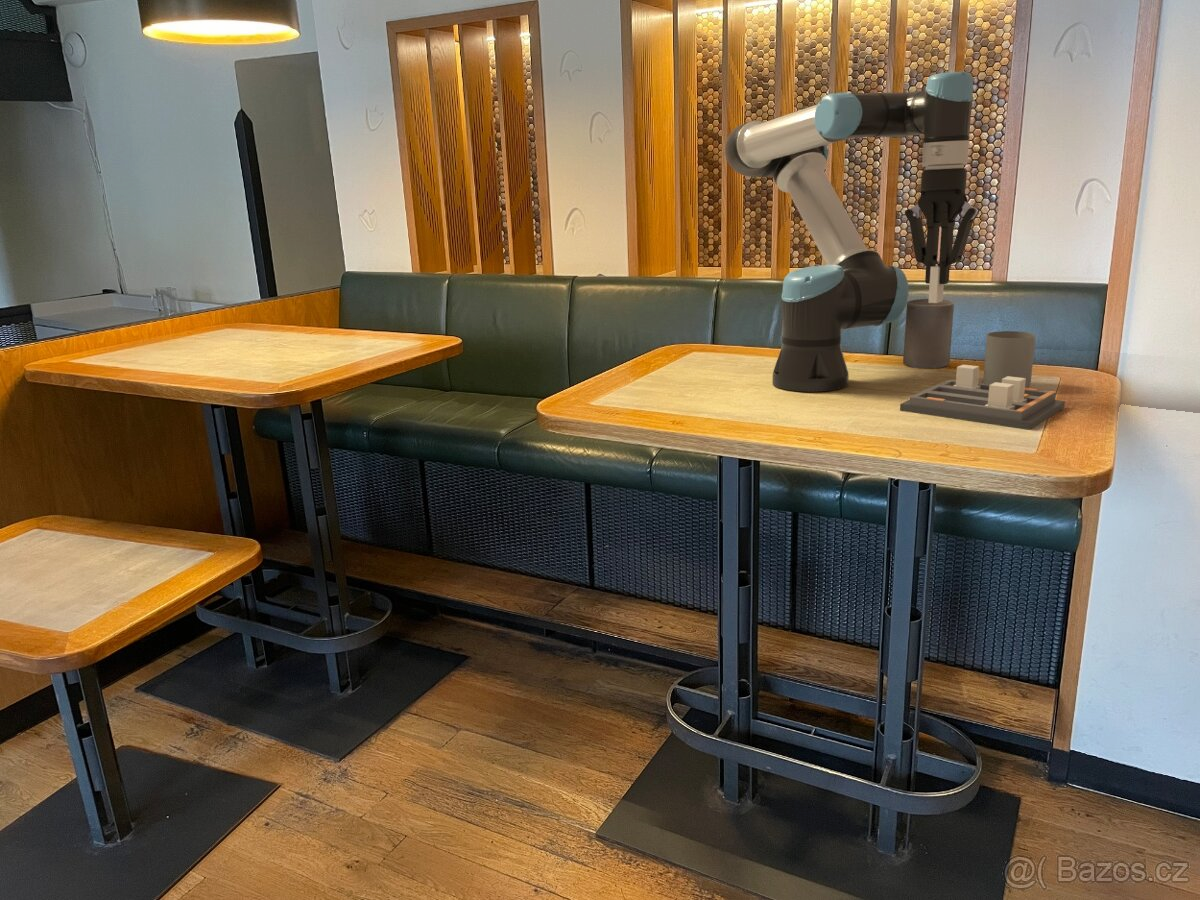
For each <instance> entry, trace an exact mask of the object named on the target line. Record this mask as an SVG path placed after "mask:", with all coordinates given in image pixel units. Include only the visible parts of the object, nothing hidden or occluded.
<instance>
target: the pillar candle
mask: <svg viewBox="0 0 1200 900" xmlns="http://www.w3.org/2000/svg"><path fill="white" fill-rule="evenodd" d="M928 302H929V298H920V299H919V298H918V299H911V300H907V304H906V313H905V315H906V316H905V324H904V325H905V330H904V342H903V357H902V359H903V360H902V364H903V365H904V366H906V367H908V368H915V369H929V370H930V369H942V368H944V367H947V366H949V365H950V361H951V349H952V348H951V347H952V337H953V336H952V335H953V334H952V333H953V323H954V322H953V321H954V320H953V319H954V308H955V304H956V302H955V301H953V300H949V299H943V301H942V302H939V303H928Z"/></svg>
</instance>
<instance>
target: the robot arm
mask: <svg viewBox="0 0 1200 900" xmlns="http://www.w3.org/2000/svg"><path fill="white" fill-rule="evenodd" d="M973 83H974V79H973V74H971V73H969V72H966V71H952V72H951V71H949V72H942V73H941V72H940V73H935V74H932V75H930V76H928V77H927V80H926V86H925V89H923V90H917V91H908V92H847V91H842V92H837V93H829V94H826V95H824V96H823V97H822V98H821V100H820V101H819V102H818V103H817V104H814V105H812V106H807V107H806V108H802V109H800V110H798V111H797V110H796V111H794V112H791V113H788V114H785V115H782V116H779V117H777V118H773V119H770V120H767V121H760V120H753V121H748V122H746V123H743V124H740V125H738V126H737V127H735V128H734V129H733V130H732V131H731V132H730V133H729V135H728V137H726V138H727V139H726V141H725V148H724V152H725V153H724V154H725V155H724V156H725V158H726V161H727V163H728V165H729V166H730V168H732V169H731V170H734V171H735V172H736V173H737V174H739V175H742V176H744V177H747V178H749V177H750V178H767V177H771V178H772V179H773V181H774V182H775V184H776V187H777V188H778V190H780V191H781V192H783V193H787V194H789V196H790V197H791V200H792V201H793V203H794V205H795V207H796V210H797V211H798V213H799V215H800V217H801V219H802V221H803V223H804V224H805V226H806V228H807V230H808V232H809V234H810V237H812V240H813V242H814V243H815V245H816V247H817V249H818V251H819V254H820V255H821V257H822V258H823V260H824V262H825V264H821V265H812V266H806V267H801V268H798V269H795V270H792V271H791V272H788V273H787V275H786V276H785V277H784V278H783V281H782V283H783V284H782V292H781V301H782V303H781V305H782V306H781V308H782V311H781V313H782V314H781V348H780V351H779V354H778V356H777V359H776V363H775V365H774V368H773V370H772V371H773V372H772V385H773V386H774V387H776V388H779V389H782V390H786V391H794V392H807V393H808V392H809V393H811V392H813V393H814V392H815V393H816V392H828V391H829V392H830V391H835V390H841V389H844V388H845V387H848V385H849V375H850V374H849V370H848V367H847V363H846V360H845V356H844V353H843V349H842V330H847V329H848V330H849V329H855V328H863V327H871V326H872V327H878V326H879V327H880V326H882V325H886V324H889V323H892V322H894V321H896V320H897V319H899V317H901V315H902V314H903V312H904V311H905V308H906V307H907V302H908V296H909V281H908V279H907V276H906V274H905V272H904V271H903V270H902V269H901V268H900V267H897V266H894V265H891V264H890V265H888V266H887V265H886V264H885V263H884V260H883V259H882V257H881V255H880V253H879V252H878V251H877V250H874V249H868V248H867V246H866V245H865V242H864V241H863V239H862V237H861V236H860V233H859V232H858V230H857V228H856V227H855V224H854V223H853V220H852V219H851V217H850V216H849V214H848V212H847V211H846V208H845V206H844V205H843V202H842V201H841V200H840V197H839V196H838V194H837V192H836V190H835V188H834V187H833V185H832V183H831V181H830V180H829V178H828V176H827V174H826V172H825V171H826V168H827V161H828V157H829V148H827V146H828V145H830V144H833V143H838V142H843V141H845V140H850V139H857V138H858V139H859V138H860V139H861V138H890V139H897V138H898V139H902V138H905V137H911V136H912V137H913V136H918V135H923V139H922V140H923V141H922V143H923V146H922V163H921V166H922V167H925V168H924V169H925V170H922V172H921V177H920V178H921V179H920V196H919V198H918V201H917V204H915V205H914V206H913V207H911V208H909V209H906V210H905V211H904V215H905V217H906V218H907V220H908V222H909V228H910V233H911V239H912V244H913V250H914V251H913V252H914V256H915V261H916V262H917V263H921V264H923V265H924V266H925V276H924V277H925V279H924V281H925V284H927V285H929V288H928V299H929V302H928V303H939V302H942V301H943V300H944V286H945V285H946V284H948V283H949V282H950V271H951V269H950V268H951V266H952V265H953V264H956V263H959V262H961V260H962V258H963V255H964V251H965V250H966V245H967V242H968V240H969V235H970V233H971V229H972V226H973V223H974V221H975V220H976V218H977V217H978V215H979V214H980V212H981V209H980V208H979V207H974V206H973V205H971V204H970V203H969V202H968V197H967V196H966V195H967V194H966V189H967V178H968V177H967V175H968V170H967V168H965V165H967V164H969V163H968V162H969V150H970V149H969V148H970V147H969V145H970V134H971V133H970V131H971V121H972V120H971V118H972V106H973V101H974V95H973V93H974V90H973V89H974V84H973ZM961 212H962V213H961ZM960 213H961V216H962V218H961V220H960V223H959V226H958V229H957V233H956V236H955V239H954V227H955V225H956V218H957V217H958V216H959V214H960ZM922 215H923V216H924V217H925V219H926V228H927V229H926V236H925V233H924V226H923V222H922V221H923V220H922V218H921V217H922ZM940 229H941V230H940ZM925 237H926V239H925ZM939 241H940V243H939ZM953 241H954V243H953ZM939 244H940V245H939ZM938 255H939V258H938ZM938 259H939V260H938Z"/></svg>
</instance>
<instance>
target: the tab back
mask: <svg viewBox="0 0 1200 900" xmlns="http://www.w3.org/2000/svg"><path fill="white" fill-rule="evenodd" d="M979 376H980V366H979V365H970V364H960V365H959V366H957V367H956V375H955V377H956V378H955V381H956V385H954V386H958V387H966V388H974V389H980V388H981V386H979V385H978V383H979Z"/></svg>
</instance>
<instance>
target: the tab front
mask: <svg viewBox="0 0 1200 900" xmlns="http://www.w3.org/2000/svg"><path fill="white" fill-rule="evenodd" d="M1013 389H1014V384H1006V383H998V382H995V383H993V384H991V385H989V395H988V404H987V405H985V406H991V407H998V408H1005V409H1013V410H1015V406H1014V405H1012V399H1013Z"/></svg>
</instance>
